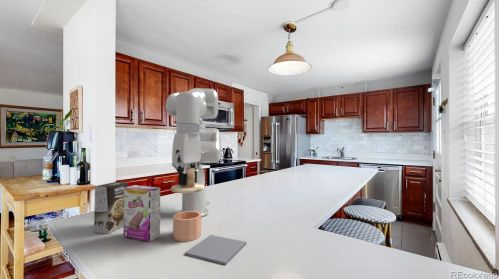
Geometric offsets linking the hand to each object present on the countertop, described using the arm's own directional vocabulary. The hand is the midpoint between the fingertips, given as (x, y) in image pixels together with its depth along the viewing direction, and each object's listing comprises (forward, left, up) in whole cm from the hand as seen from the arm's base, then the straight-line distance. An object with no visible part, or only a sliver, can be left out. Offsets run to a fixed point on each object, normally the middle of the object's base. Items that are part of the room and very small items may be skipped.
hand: (187, 183), depth 76 cm
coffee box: (+6, -29, -18) cm, 34 cm away
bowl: (0, 0, -17) cm, 17 cm away
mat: (+4, +14, -17) cm, 23 cm away
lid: (0, 0, -2) cm, 2 cm away
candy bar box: (+7, -13, -18) cm, 23 cm away
